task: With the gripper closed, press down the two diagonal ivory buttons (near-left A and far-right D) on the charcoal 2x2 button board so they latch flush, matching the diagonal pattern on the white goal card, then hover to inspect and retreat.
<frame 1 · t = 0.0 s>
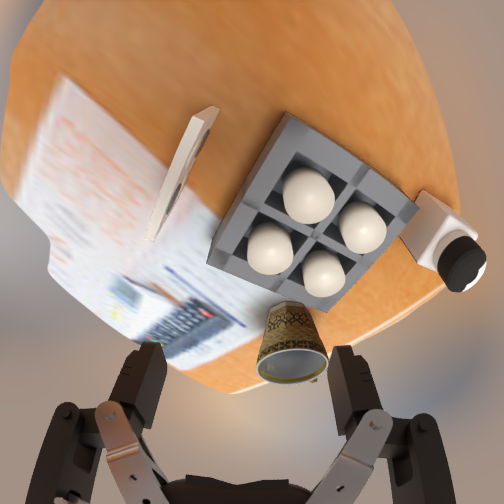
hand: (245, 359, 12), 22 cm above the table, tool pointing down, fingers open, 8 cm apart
button D: (323, 273, 31), point 5 cm above the table, slide at 0.0 cm
ceramic cup: (292, 319, 44), on the table
goal card: (192, 155, 29), on the table
medicine bottle: (424, 219, 32), on the table
button C: (269, 248, 29), point 5 cm above the table, slide at 0.0 cm
button B: (361, 227, 27), point 5 cm above the table, slide at 0.0 cm
button A: (307, 194, 25), point 5 cm above the table, slide at 0.0 cm
board: (308, 213, 32), on the table
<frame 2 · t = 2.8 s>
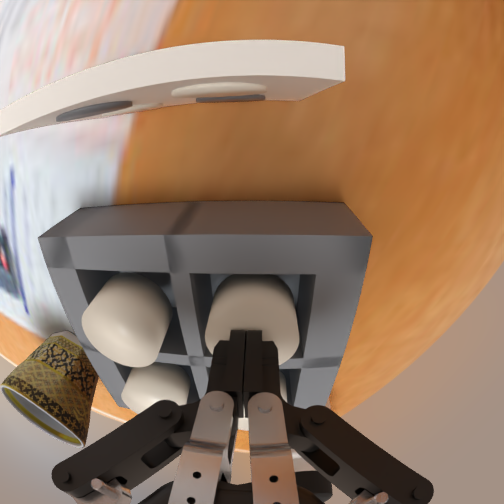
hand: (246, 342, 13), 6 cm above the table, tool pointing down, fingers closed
button D: (156, 391, 17), point 5 cm above the table, slide at 0.0 cm
ceramic cup: (78, 357, 25), on the table
goal card: (191, 95, 13), on the table
medicine bottle: (295, 408, 27), on the table
button C: (127, 321, 14), point 5 cm above the table, slide at 0.0 cm
button B: (253, 399, 17), point 5 cm above the table, slide at 0.0 cm
button A: (252, 322, 14), point 5 cm above the table, slide at 0.5 cm, touching gripper
board: (208, 311, 20), on the table
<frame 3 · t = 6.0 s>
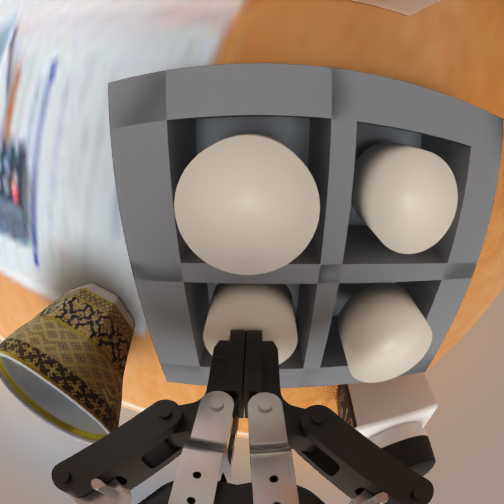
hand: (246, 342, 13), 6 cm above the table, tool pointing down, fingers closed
button D: (251, 321, 14), point 4 cm above the table, slide at 1.4 cm, touching gripper
ceramic cup: (100, 324, 21), on the table
medicine bottle: (371, 374, 23), on the table
button C: (248, 197, 10), point 6 cm above the table, slide at 0.0 cm
button B: (383, 334, 13), point 6 cm above the table, slide at 0.0 cm
button A: (402, 194, 11), point 4 cm above the table, slide at 1.6 cm
board: (311, 229, 16), on the table
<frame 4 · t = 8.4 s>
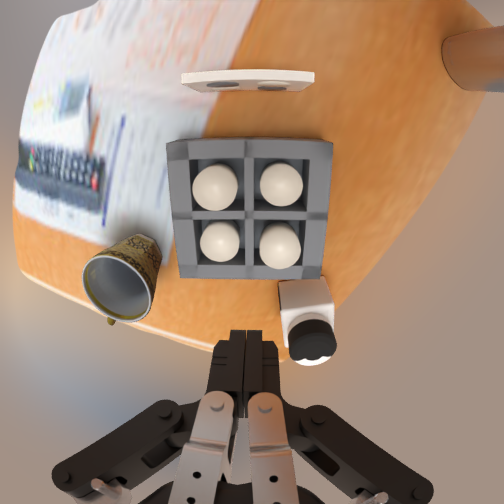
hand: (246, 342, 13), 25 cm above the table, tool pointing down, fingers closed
button D: (220, 239, 34), point 4 cm above the table, slide at 1.6 cm
ceramic cup: (140, 260, 40), on the table
goal card: (249, 86, 29), on the table
medicine bottle: (302, 296, 42), on the table
button C: (216, 186, 29), point 6 cm above the table, slide at 0.0 cm
button B: (279, 245, 32), point 6 cm above the table, slide at 0.0 cm
button A: (280, 183, 30), point 4 cm above the table, slide at 1.6 cm
board: (250, 202, 35), on the table
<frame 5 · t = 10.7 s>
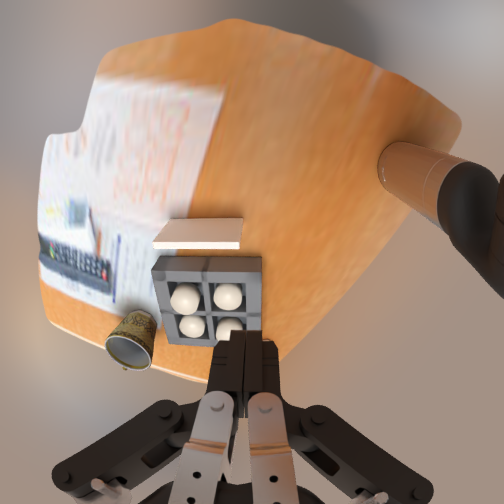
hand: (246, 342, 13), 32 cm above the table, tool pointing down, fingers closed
button D: (193, 323, 49), point 4 cm above the table, slide at 1.6 cm
ceramic cup: (141, 325, 56), on the table
goal card: (206, 221, 44), on the table
button C: (185, 298, 45), point 5 cm above the table, slide at 0.0 cm
button B: (229, 330, 48), point 5 cm above the table, slide at 0.0 cm
button A: (228, 294, 46), point 4 cm above the table, slide at 1.6 cm
board: (212, 296, 51), on the table
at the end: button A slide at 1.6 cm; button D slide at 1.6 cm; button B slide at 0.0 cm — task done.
